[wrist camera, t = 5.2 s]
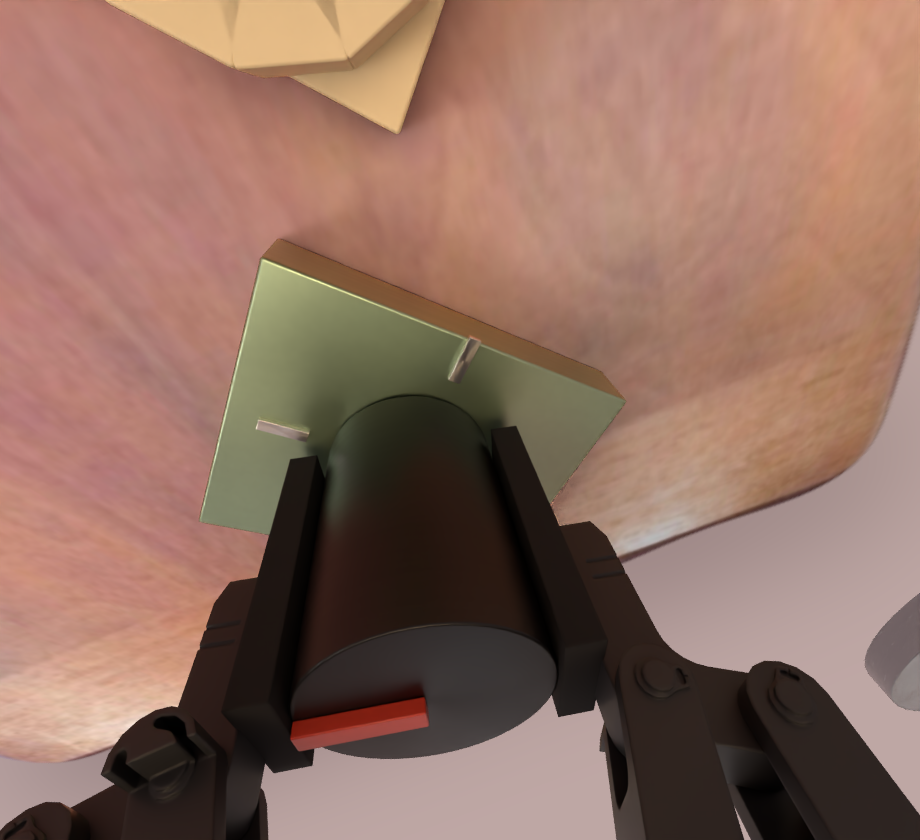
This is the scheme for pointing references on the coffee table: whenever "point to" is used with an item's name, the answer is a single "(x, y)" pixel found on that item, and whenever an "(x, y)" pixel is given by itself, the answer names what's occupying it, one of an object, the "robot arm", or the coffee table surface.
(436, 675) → the knob
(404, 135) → the coffee table surface
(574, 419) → the dial panel
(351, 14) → the button box
